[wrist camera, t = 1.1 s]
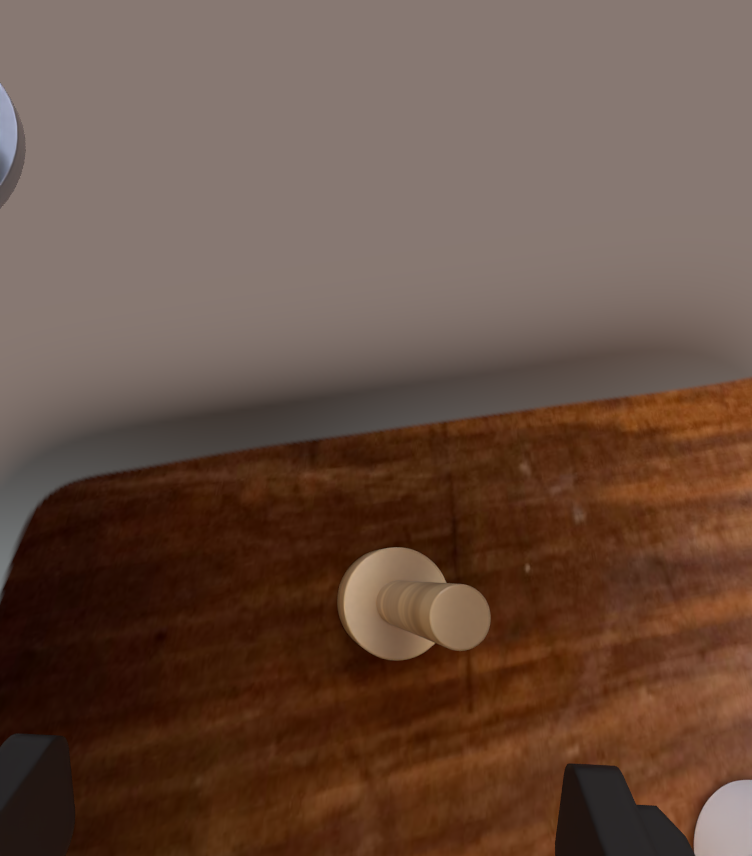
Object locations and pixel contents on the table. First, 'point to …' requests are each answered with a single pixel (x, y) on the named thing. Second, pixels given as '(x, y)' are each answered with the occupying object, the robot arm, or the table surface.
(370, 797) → the table surface
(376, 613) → the wooden stamp
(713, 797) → the can
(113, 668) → the table surface
